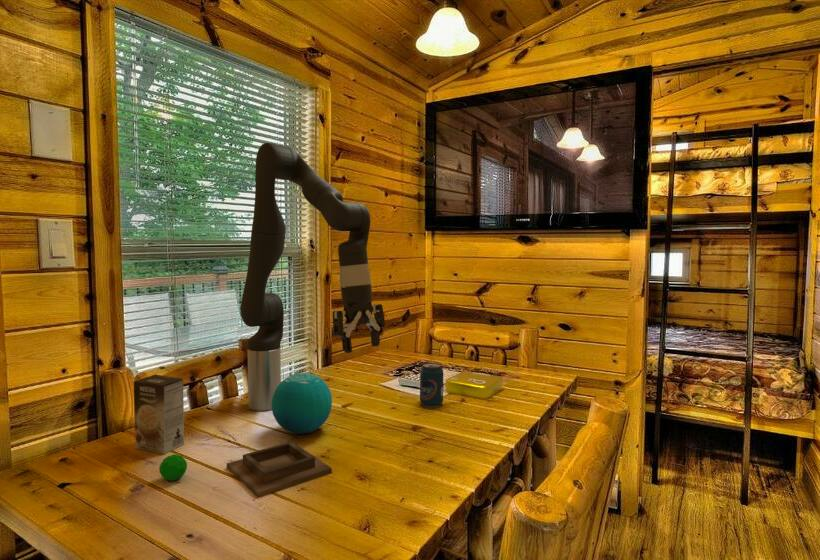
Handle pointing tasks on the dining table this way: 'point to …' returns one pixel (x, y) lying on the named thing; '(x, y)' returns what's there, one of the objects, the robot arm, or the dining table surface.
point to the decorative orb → (301, 403)
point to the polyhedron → (173, 467)
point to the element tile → (474, 384)
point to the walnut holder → (277, 468)
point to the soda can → (431, 385)
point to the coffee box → (159, 413)
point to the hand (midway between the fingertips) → (362, 349)
